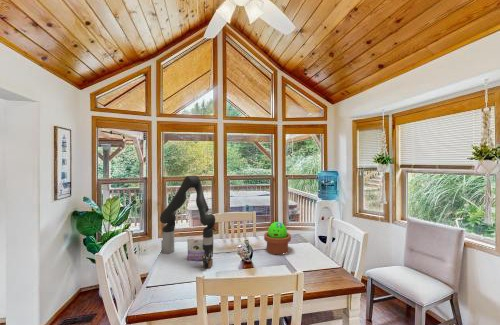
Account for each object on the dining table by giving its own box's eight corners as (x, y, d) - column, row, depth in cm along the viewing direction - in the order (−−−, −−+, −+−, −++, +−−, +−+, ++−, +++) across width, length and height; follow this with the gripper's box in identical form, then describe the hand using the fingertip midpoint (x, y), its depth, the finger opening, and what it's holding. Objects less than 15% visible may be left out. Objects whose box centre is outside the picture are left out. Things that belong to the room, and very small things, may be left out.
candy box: (207, 258, 191) (207, 237, 191) (205, 261, 185) (205, 239, 185) (190, 257, 192) (190, 236, 192) (187, 260, 186) (187, 238, 186)
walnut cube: (203, 267, 174) (203, 260, 174) (206, 264, 179) (206, 258, 179) (209, 268, 173) (209, 261, 173) (212, 265, 178) (212, 258, 178)
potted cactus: (267, 245, 219) (267, 217, 219) (292, 247, 214) (292, 219, 213) (261, 254, 198) (261, 223, 198) (289, 257, 192) (289, 225, 192)
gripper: (207, 238, 183) (207, 261, 184) (198, 245, 169) (198, 270, 170) (216, 239, 181) (216, 262, 182) (208, 246, 168) (208, 271, 168)
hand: (207, 266), depth 176 cm, fingers closed on walnut cube, 5 cm apart
